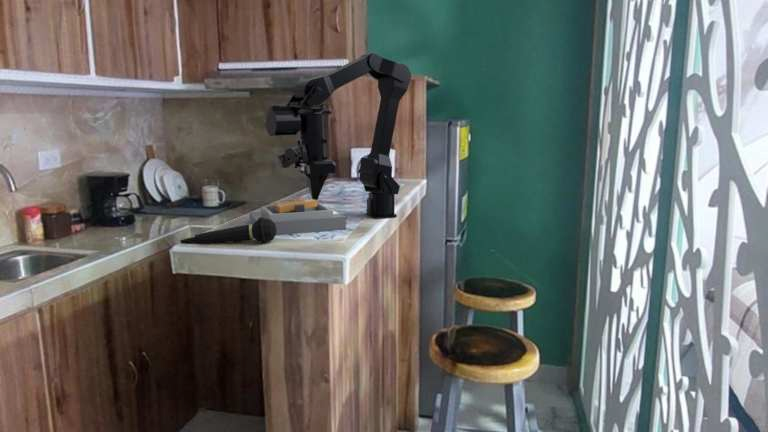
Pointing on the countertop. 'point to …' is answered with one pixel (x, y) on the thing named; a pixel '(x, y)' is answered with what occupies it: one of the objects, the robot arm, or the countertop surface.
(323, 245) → the countertop surface
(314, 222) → the switch panel
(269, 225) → the microphone
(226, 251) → the countertop surface
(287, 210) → the plate
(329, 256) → the countertop surface
